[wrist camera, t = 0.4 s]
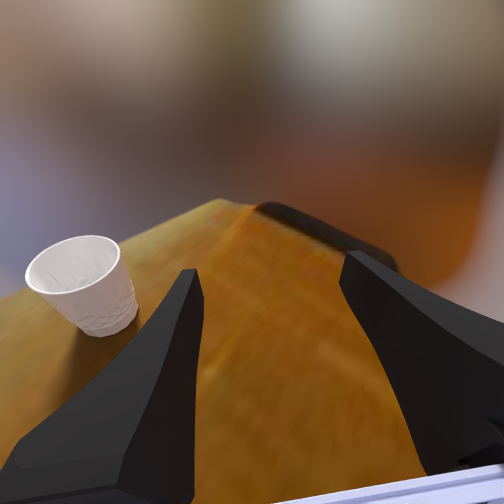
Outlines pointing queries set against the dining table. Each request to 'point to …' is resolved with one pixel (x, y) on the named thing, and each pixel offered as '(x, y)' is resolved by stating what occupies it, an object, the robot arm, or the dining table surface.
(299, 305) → the dining table surface
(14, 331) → the dining table surface
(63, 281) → the white cup
